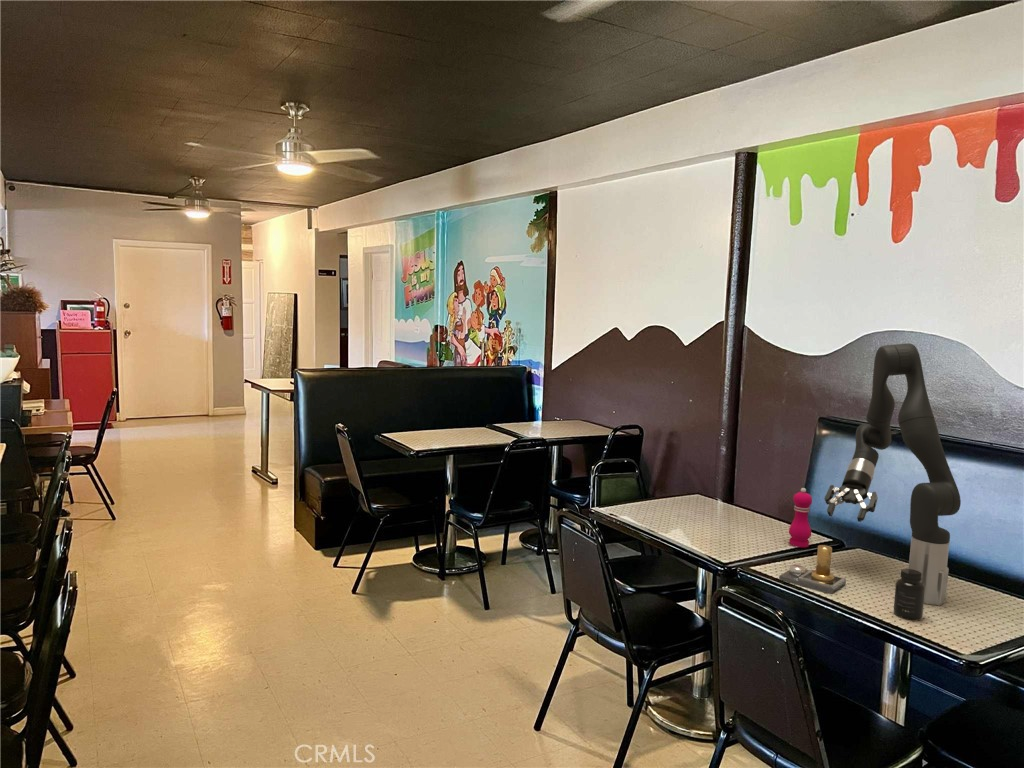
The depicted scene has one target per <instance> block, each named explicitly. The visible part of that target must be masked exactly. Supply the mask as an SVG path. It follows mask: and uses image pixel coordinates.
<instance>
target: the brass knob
mask: <svg viewBox="0 0 1024 768" xmlns="http://www.w3.org/2000/svg"><path fill="white" fill-rule="evenodd" d="M832 554H833V547H832V546H830V545H825V544H819V545H817V554H816V567H815V569H813V570H814V571H812V576H811V579H812V580H814V581H818V582H821V583H825V584H832V583H833V582H834V574H833V573H832V572H831V567H832Z"/></svg>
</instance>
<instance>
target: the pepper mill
mask: <svg viewBox="0 0 1024 768" xmlns="http://www.w3.org/2000/svg"><path fill="white" fill-rule="evenodd" d="M792 502H793V503H794V506H793V507H794V508H793V509H794V511H795V512H794V513H795V514H794V518H793V520H792V522H791V524H790V526H789V528H788V534H789V536H790V538H789V542H788V543H789V545H790V546H792V547H796V546H797V548H808V547H810V540H809V539H810V537H811V536H812V528H811V526H810V523H809V519H808V516H809V512H810V510H811V509H810V508H811V507H810V506H811V505H812V504H813V498H812V495H810V494H809V493H807V489H806V488H805V487H801V488H800V491H798V492H797V493H794V495H793V500H792Z"/></svg>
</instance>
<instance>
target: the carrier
mask: <svg viewBox="0 0 1024 768" xmlns="http://www.w3.org/2000/svg"><path fill="white" fill-rule="evenodd" d="M814 570H815V569H813V568H811V569H810V570H809V569H806V567H805V566H803V565H799V564H790V565H789V569H788V570H787V571H785V572H783V573H782V574H780V575H779V577H778V579H779V581H782V580H783V582H785V583H790V584H792V585H793V584H794V585H797V586H801V587H804V588H807V589H812V590H814V591H818V592H822V593H825V594H827V595H828V594H829V595H833V594H834V593H835V592H836V591H838V590H839V589H840V588H842V587H844V586H845V585H846V583H847V578H845V577H842V576H837V575H834V582H833V583H832V584H825V583H821V582H818V581H814V580H812V579H811V576H812V571H814Z"/></svg>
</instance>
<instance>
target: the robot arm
mask: <svg viewBox="0 0 1024 768" xmlns="http://www.w3.org/2000/svg"><path fill="white" fill-rule="evenodd" d="M902 375H904V376H905V377H906V382H907V383H906V384H907V387H906V388H907V390H906V394H905V398H904V399H903V402H902V404H901V407H900V409H899V413H898V418H897V422H898V425H899V429H900V433H901V437H902V440H903V442H904V443H905V445H906V447H907V448H908V450H910V452H911V453H912V454H913V455H914V456H915V457H916V459H917V460H918V461H919V462H920V463H921V465H922V466H923V469H924V470H925V473H926V475H927V479H928V481H929V482H920V483H917V484H916V485H915V486H914V487H913V488H912V492H911V494H910V495H911V496H910V503H909V504H910V507H909V508H910V509H909V512H910V513H909V525H910V529H911V539H910V549H909V551H910V552H909V560H908V567H907V569H913V570H917V571H919V572H921V573H922V577H921V578H922V580H921V581H920V582H922V583H923V584H924V586H925V595H924V604H926V605H936V606H938V607H939V606H942V604H944V603H945V601H946V599H947V591H948V590H947V589H948V580H949V579H948V578H949V572H950V571H949V570H950V569H949V567H948V559H949V549H950V540H951V535H950V534H951V533H950V531H949V530H947V529H945V528H943V527H940V526H939V517H942V516H943V517H945V516H953V515H955V514H957V513H958V512H959V511H960V508H961V504H962V503H961V501H962V500H961V494H960V492H959V491H960V490H959V487H958V485H957V483H956V481H955V479H954V475H953V473H952V470H951V468H950V465H949V463H948V460H947V458H946V455H945V451H944V448H943V444H942V442H941V438H940V434H939V430H938V426H937V422H936V419H935V415H934V413H933V409H932V407H931V403H930V402H931V401H930V399H929V395H928V392H927V388H926V387H927V386H926V383H925V377H924V371H923V366H922V361H921V357H920V353H919V350H918V349H917V346H915V345H914V344H913V343H898V344H889V345H888V344H887V345H881V346H880V347H879V348H877V350H876V353H875V356H874V363H873V374H872V385H871V386H872V387H871V399H870V403H869V407H868V410H867V414H866V418H865V419H866V422H867V423H861V424H860V425H858V427H857V428H856V430H855V449H854V453H853V455H852V459H851V461H850V463H849V465H848V466H847V469H846V472H845V475H844V478H843V481H842V483H841V485H840V486H839V487H835V485H834V484H830V485H829V487H828V489H827V492H826V493H825V496H824V497H823V498H824V501H825V504H826V505H828V507H827V509H826V512H827V515H828V517H831V518H832V517H833V515H834V511H835V509H836V507H837V506H838V505H842V504H843V503H846V504H852V505H857V504H858V505H859V507H860V508H859V511H858V514H857V517H856V519H857V522H860V523H861V522H863V521H864V520H865V518H866V514H867V513H868V512H871V513H874V512H875V510H876V506H877V502H878V494H877V492H876V491H872V492H869V490H870V486H871V484H872V481H873V479H874V475H875V474H874V473H875V469H876V466H877V464H878V461H879V452H878V451H877V450H880V451H884V450H886V449H888V448H889V447H890V445H891V443H892V430H891V421H892V418H893V414H894V411H895V407H896V406H895V405H896V402H895V399H894V396H893V394H892V392H891V390H890V389H889V387H888V384H887V381H888V378H889V377H891V376H902ZM876 449H877V450H876ZM867 498H868V499H869V503H868V505H866V503H865V501H864V500H866V499H867Z"/></svg>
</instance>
